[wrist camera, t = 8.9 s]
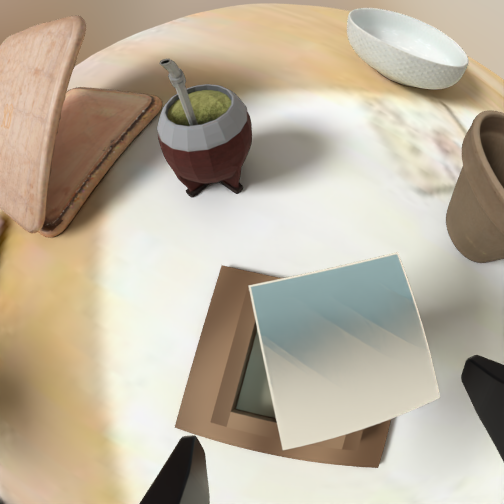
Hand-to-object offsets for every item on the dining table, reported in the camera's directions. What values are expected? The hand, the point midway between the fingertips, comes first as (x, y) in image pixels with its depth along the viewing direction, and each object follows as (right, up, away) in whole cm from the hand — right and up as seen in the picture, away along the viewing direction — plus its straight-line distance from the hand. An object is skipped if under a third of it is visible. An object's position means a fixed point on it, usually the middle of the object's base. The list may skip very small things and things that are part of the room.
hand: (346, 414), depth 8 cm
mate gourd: (-6, +11, +19) cm, 22 cm away
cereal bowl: (+18, +30, +26) cm, 43 cm away
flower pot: (+17, +6, +15) cm, 24 cm away
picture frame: (0, -3, +11) cm, 12 cm away
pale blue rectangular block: (0, -3, +11) cm, 11 cm away
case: (-26, +17, +23) cm, 38 cm away
